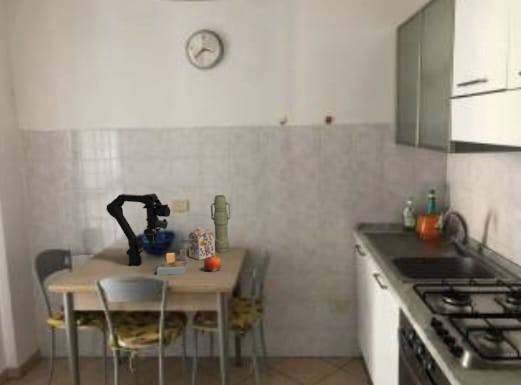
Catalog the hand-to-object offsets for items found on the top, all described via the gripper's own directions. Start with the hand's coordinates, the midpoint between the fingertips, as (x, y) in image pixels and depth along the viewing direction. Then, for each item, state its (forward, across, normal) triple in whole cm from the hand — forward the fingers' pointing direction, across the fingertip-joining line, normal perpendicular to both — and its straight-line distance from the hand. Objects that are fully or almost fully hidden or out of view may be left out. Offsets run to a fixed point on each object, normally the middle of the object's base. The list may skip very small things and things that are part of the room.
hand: (153, 243), depth 278 cm
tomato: (+13, -12, -34) cm, 38 cm away
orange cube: (+8, -10, -11) cm, 17 cm away
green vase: (+13, +30, -36) cm, 49 cm away
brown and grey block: (+10, -10, -14) cm, 20 cm away
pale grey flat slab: (+13, -10, -12) cm, 20 cm away
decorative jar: (+13, +17, -25) cm, 33 cm away
